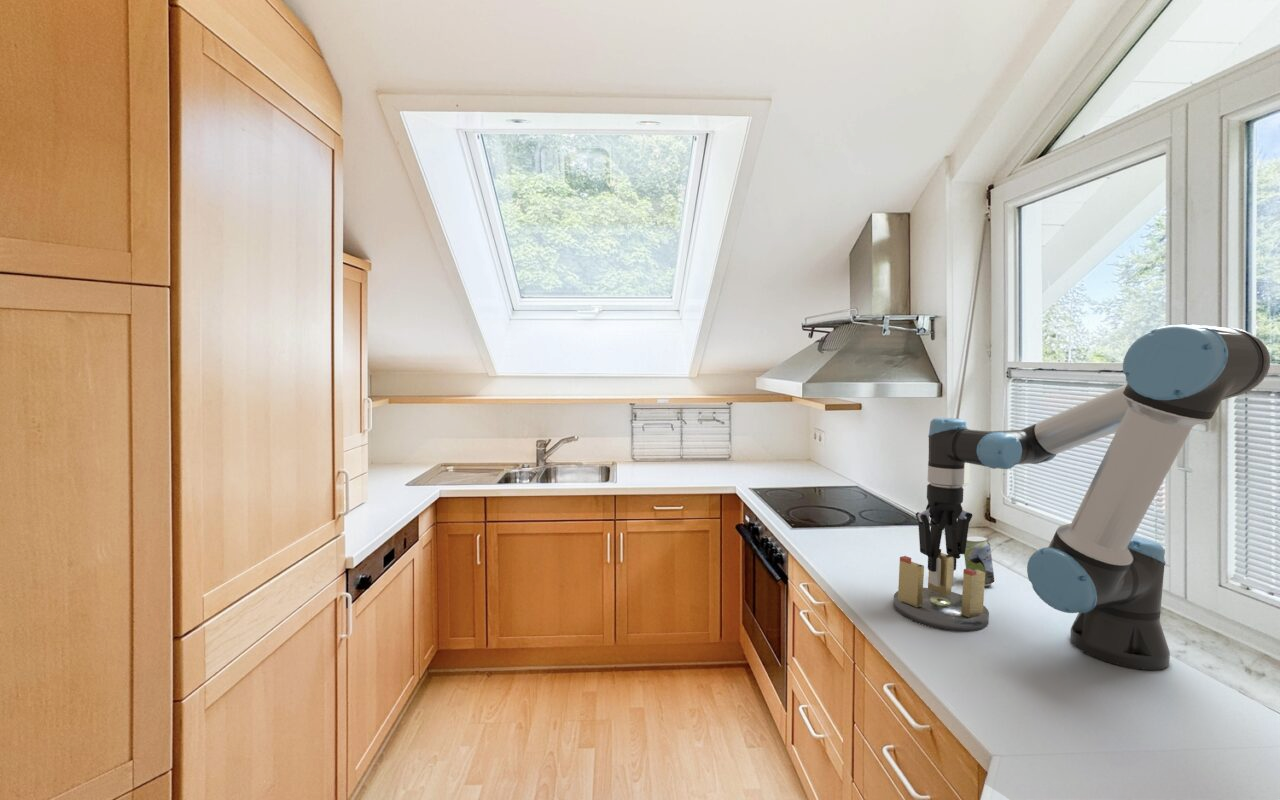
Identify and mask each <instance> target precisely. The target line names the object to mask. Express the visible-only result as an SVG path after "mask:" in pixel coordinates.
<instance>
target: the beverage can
mask: <svg viewBox="0 0 1280 800" xmlns="http://www.w3.org/2000/svg"><path fill="white" fill-rule="evenodd" d="M991 549H992V548H991V543H990V542H989V541H988V539H987V537H985V536H980V535H971V536H967V542H966V549H965V554H963V557H964V564H965V569H967V568H969V569H972V570H980V571H983V572H985V585H984V587H987V586H991V585H992V584H993V583H994V582H995V574H994V566H993V557H992V550H991Z"/></svg>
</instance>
